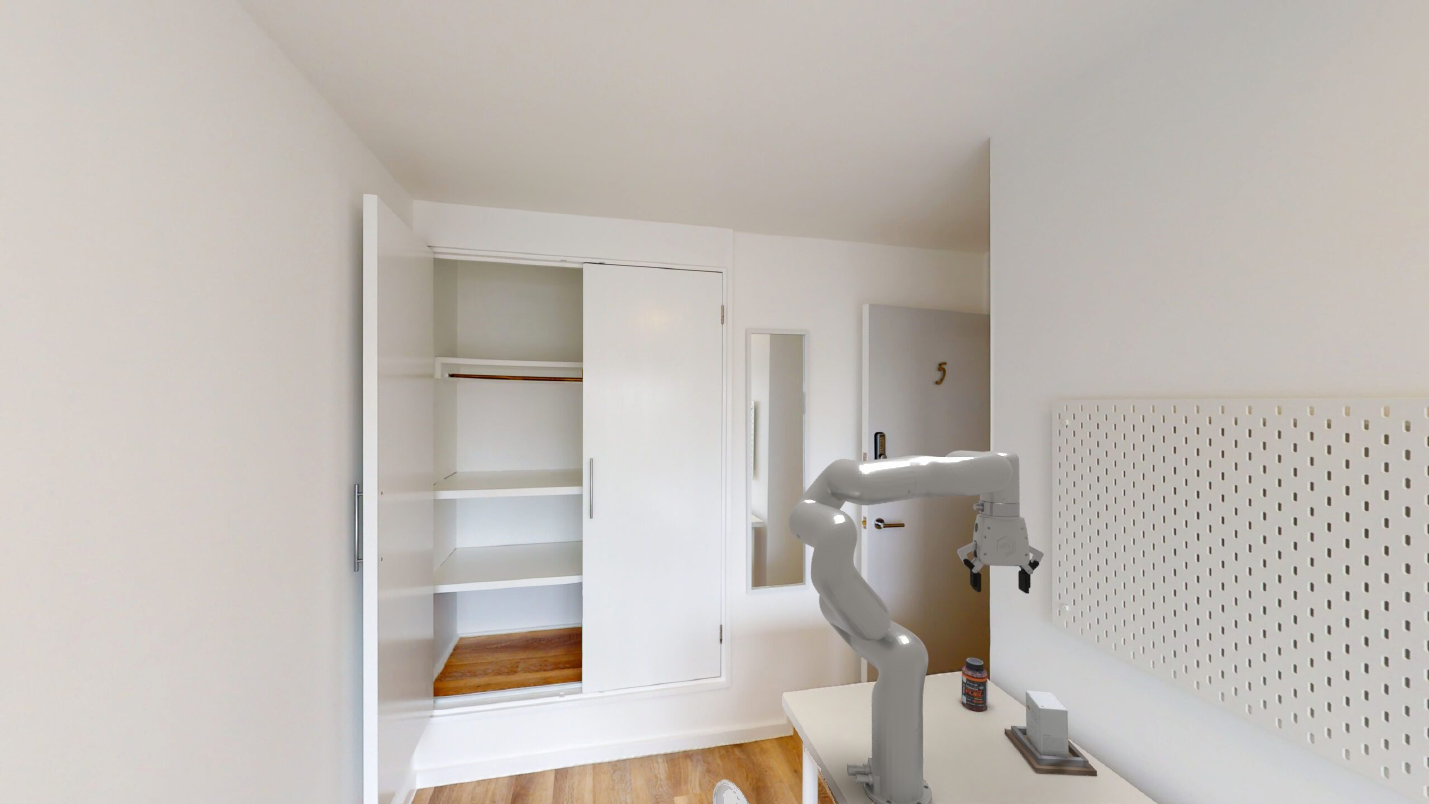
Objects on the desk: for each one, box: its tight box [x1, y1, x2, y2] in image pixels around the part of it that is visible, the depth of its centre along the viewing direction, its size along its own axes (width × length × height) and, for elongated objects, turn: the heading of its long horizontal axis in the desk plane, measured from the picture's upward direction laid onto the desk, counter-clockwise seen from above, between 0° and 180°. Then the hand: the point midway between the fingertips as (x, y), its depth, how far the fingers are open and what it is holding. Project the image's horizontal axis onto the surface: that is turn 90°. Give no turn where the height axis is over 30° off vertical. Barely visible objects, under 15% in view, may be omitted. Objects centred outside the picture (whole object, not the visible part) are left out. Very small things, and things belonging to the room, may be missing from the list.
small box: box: [1025, 690, 1069, 757], centre depth 119 cm, size 8×6×10 cm
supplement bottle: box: [961, 657, 989, 712], centre depth 139 cm, size 6×6×11 cm
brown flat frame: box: [1004, 725, 1098, 777], centre depth 119 cm, size 12×14×2 cm
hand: (1000, 590), depth 116 cm, fingers open, 9 cm apart
